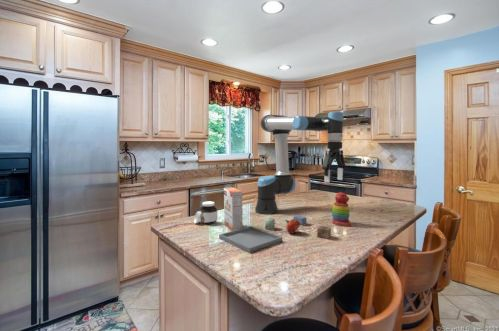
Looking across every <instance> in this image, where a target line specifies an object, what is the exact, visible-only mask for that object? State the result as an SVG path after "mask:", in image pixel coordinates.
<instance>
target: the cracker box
mask: <svg viewBox="0 0 499 331" xmlns="http://www.w3.org/2000/svg"><path fill="white" fill-rule="evenodd" d="M223 204H224V205H223V207H224V208H223V214H224V216H223V217H224V218H223V219H224V221H223V222H224V225H225V226H226V228H228V229H229V230H230V231H234V230H238V229H242V228H244V227H243V191H242V190H240V189H238V188H235V187H234V186H232V187H224V188H223Z"/></svg>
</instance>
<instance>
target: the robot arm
mask: <svg viewBox="0 0 499 331" xmlns="http://www.w3.org/2000/svg"><path fill="white" fill-rule="evenodd" d="M259 125H260V127H261V129H262V130H263V131H265V132H267V133H272V137H274V144H275V145H274V146H275V147H274V148H275V169H276V172H275V173H274V175H265V176H260V177H259V178H258V180H257V202H256V205H255V208H254V211H255V213H257V214H261V215H273V214H276V213H278V212H279V208H278V205H277V201H276V196H279V195H287V194H291V193H292V192H293V191H294V190H295V188H296V180H295V178H294V177H293V176H292V173H291V172H290V168H289V167H290V166H289V165H290V164H289V147H288V146H289V144H288V142H289V141H288V137H289V135H290V133H291V132H292V131H313V132H325V131H327V144H326V145H327V146H326V147H327V149H329V150H325V155H324V160H323V161H322V162H323V163H322V166H321V169H322V170H324V177H323V178H324V180H323V181H324V183H330V182H331V180H330V179H331V169H330V168H331V166H332V164H333V161H334V160H335V162H336V164H337V166H338V167H337V178H336V179H337V180H339V181H343V176H344V173H343V172H344V169H345V168H346V162H345V157H344V150H341V149H343V142H342V141H343V137H344V135H343V130H344V114H343V112H342V111H330V112H328V114H327V116H323V117H322V116H321V117H320V116H319V117H318V116H305V115H296V116H287V115H285V114H284V115H283V114H282V115H280V114H279V115H278V114H267V115H264V116H263V117H262V118H261V120H260V124H259Z"/></svg>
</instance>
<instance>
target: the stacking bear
mask: <svg viewBox="0 0 499 331" xmlns="http://www.w3.org/2000/svg"><path fill="white" fill-rule="evenodd" d="M334 198H335V202H334V203H333V205H332V209H331V215H332V221H331V223H332V224H333V225H335V226H339V227H349V228H350V227H352V226H353V224H352V223H351V222H350V219H349V217H350V214H351V213H350V207H349V204H348V202H349V200H350V198H349V196H348V195H347V194H346V193H345V192H341V191H339V192H337V193H336V194H335V196H334Z"/></svg>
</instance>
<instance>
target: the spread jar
mask: <svg viewBox="0 0 499 331" xmlns="http://www.w3.org/2000/svg"><path fill="white" fill-rule="evenodd" d="M217 221H218V209H217V207H216V205H215V201H209V200H208V201H207V200H206V201H204V202H202V206H201V207H200V208H199V211H196V212H195V215H194V219H193V222H194V224H199V222H201V224H203V225H214V224H215V223H216V222H217Z"/></svg>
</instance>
